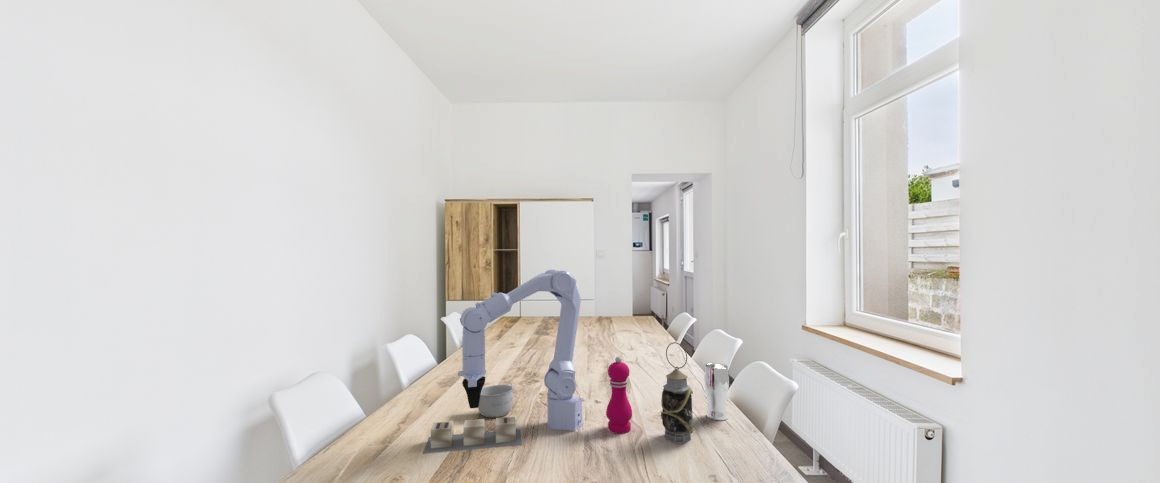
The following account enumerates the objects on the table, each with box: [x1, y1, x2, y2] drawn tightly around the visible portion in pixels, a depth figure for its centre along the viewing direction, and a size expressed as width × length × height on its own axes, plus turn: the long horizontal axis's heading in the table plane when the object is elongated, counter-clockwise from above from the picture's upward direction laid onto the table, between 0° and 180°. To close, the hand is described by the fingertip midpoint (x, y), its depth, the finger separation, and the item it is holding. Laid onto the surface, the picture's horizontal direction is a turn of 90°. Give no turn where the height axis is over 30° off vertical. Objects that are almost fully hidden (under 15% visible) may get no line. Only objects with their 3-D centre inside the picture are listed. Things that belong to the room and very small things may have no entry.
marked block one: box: [495, 416, 517, 443], centre depth 118 cm, size 5×5×5 cm
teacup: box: [477, 383, 514, 419], centre depth 138 cm, size 14×11×8 cm
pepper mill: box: [605, 356, 633, 434], centre depth 125 cm, size 7×7×20 cm
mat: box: [422, 429, 523, 454], centre depth 117 cm, size 24×10×1 cm, turn 100°
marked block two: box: [430, 421, 455, 448], centre depth 115 cm, size 5×5×5 cm
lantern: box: [660, 342, 694, 444], centre depth 119 cm, size 9×8×25 cm
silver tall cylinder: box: [703, 362, 730, 421], centre depth 134 cm, size 7×7×15 cm
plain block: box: [463, 418, 486, 446], centre depth 117 cm, size 5×5×4 cm
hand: (474, 407), depth 117 cm, fingers closed
